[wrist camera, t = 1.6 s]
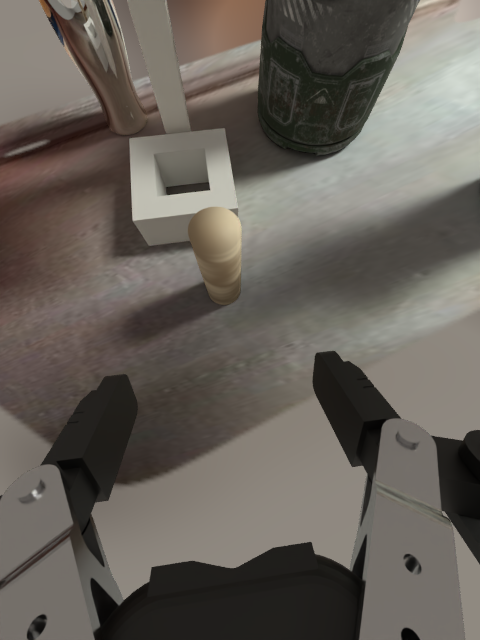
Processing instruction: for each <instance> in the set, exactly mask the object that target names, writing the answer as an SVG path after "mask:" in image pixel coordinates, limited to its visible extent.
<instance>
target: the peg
mask: <svg viewBox="0 0 480 640" xmlns="http://www.w3.org/2000/svg"><path fill="white" fill-rule="evenodd" d="M241 231H242V228H241V223H240V221H239V219H238V217H237V216H236V215H235V214H234V213H233V212H232V211H230V210H228V209H226V208H223V207H208V208H204V209H202V210H200V211H199V212H197V213H196V214H195V215H194V216H193V217H192V219H191V220H190V222H189V225H188V236H189V239H190V242H191V245H192V248H193V251H194V254H195V256H196V259H197V262H198V265H199V268H200V271H201V274H202V277H203V280H204V283H205V286H206V288H207V291H208V294H209V297H210V298H211V300H212V301H214V302H215V303H217V304H220V305H228V304H231V303H233V302H234V301H236V300H237V298H238V297H239V295H240V291H241Z"/></svg>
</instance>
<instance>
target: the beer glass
mask: <svg viewBox="0 0 480 640" xmlns="http://www.w3.org/2000/svg"><path fill="white" fill-rule="evenodd" d="M39 2H40V4H41V6H42V8H43V10H44V12H45V14H46V16H47V18H48V20H49V22H50V24H51V26H52V28H53V29H54V31H55V33H56V35H57V36H58V38H59V40H60V42H61V43H62V45H63V47H64V48H65V50H66V52H67V53H68V55H69V56H70V58H71V59H72V61H73V62H74V64H75V65H76V67H77V68H78V70H79V71H80V73H81V74H82V76H83V77H84V79H85V80H86V82H87V83H88V85H89V86H90V88H91V89H92V91H93V92H94V94H95V96H96V98H97V100H98V102H99V104H100V107H101V109H102V112H103V115H104V118H105V121H106V124H107V126H108V128H109V129H110V130H111V131H112V132H114V133H116V134H119V135H131V134H135V133H137V132H139V131H140V130H141V129H143V128H144V126H145V125H146V123H147V113H146V110H145V108H144V106H143V104H142V103H141V101H140V99H139V97H138V95H137V92H136V90H135V87H134V84H133V80H132V76H131V72H130V67H129V62H128V57H127V52H126V47H125V43H124V38H123V34H122V30H121V26H120V23H119V20H118V16H117V13H116V10H115V6H114V4H113V1H112V0H39Z"/></svg>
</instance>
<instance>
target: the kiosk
mask: <svg viewBox="0 0 480 640" xmlns="http://www.w3.org/2000/svg"><path fill="white" fill-rule="evenodd" d="M127 2H128V6H129V9H130V13H131V16H132V20H133V23H134V26H135V30H136V33H137V37H138V40H139V44H140V47H141V50H142V54H143V57H144V61H145V64H146V67H147V71H148V74H149V78H150V81H151V85H152V88H153V91H154V95H155V98H156V102H157V105H158V108H159V112H160V115H161V119H162V122H163V125H164V129H165V132H166V134H165V135H155V136H146V137H137V138H129V144H130V169H131V194H132V219H133V222H134V224H135V225H136V227H137V228H138V230H139V231H140V233H141V234H142V236H143V237H144V239H145V241H146V242H147V244H148V245H149V246H153V245H161V244H169V243H177V242H185V241H190V239H189V236H188V225H189V222H190V220H191V219H192V217H193V216H194V215H195V214H196V213H197V212H199V211H200V210H202V209H204V208H208V207H223V208H226V209H228V210H230V211H232V212H233V213H234V214H235V215H236V216H237V217H238V205H237V199H236V193H235V187H234V181H233V175H232V169H231V163H230V157H229V151H228V145H227V139H226V133H225V128H220V129H211V130H201V131H192V132H191V127H190V121H189V116H188V111H187V106H186V100H185V95H184V90H183V85H182V79H181V74H180V69H179V64H178V59H177V53H176V48H175V43H174V37H173V32H172V27H171V21H170V16H169V11H168V6H167V0H127ZM205 182H209V184H210V190H208V191H199V192H191V193H183V194H174V195H167V193H166V187H171V186H179V185H188V184H196V183H205Z"/></svg>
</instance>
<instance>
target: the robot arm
mask: <svg viewBox="0 0 480 640" xmlns="http://www.w3.org/2000/svg"><path fill="white" fill-rule="evenodd" d="M313 388H314V391H315V394H316V396H317V398H318V400H319V402H320V404H321V406H322V408H323V410H324V412H325V414H326V416H327V418H328V420H329V422H330V424H331V426H332V428H333V430H334V432H335V434H336V436H337V438H338V440H339V442H340V444H341V446H342V448H343V450H344V452H345V454H346V456H347V458H348V460H349V462H350V464H351V466H352V467H356V466H364V468H365V470H366V472H367V477H366V481H365V487H364V494H363V500H362V506H361V513H360V519H359V525H358V531H357V536H356V540H355V545H354V549H353V554H352V559H351V565H350V570H349V569H347V568H346V567H344V566H343V565H341V564H339V563H337V562H335V561H334V560H332V559H329V558H326V557H324V556H320V555H316V554H315V553H314V550H313V546H312V543H311V542H307V543H301V544H295V545H288V546H283V547H276V548H272V549H270V550H268V551H267V552H265V553H263V554H261V555H259V556H257V557H255V558H254V559H252V560H250V561H248V562H246V563H244V564H243V565H241V566H239V567H237V568H225V567H220V566H215V565H210V564H206V563H200V562H195V561H188V562H181V563H175V564H170V565H163V566H156V567H152V569H151V576H150V581H149V582H148V583H146V584H144V585H143V586H142V587H140V588H139V589H137V590H136V591H135V592H133V593H132V594H131V595H130V596H129V597H127V598H126V599H125V600H123V597H122V594H121V592H120V590H119V587H118V585H117V583H116V581H115V580H114V578H113V576H112V573H111V571H110V568H109V565H108V562H107V560H106V556H105V554H104V550H103V547H102V544H101V541H100V538H99V535H98V532H97V529H96V526H95V523H94V520H93V517H92V515H91V512H92V509H93V507H94V504H95V502H101V501H108V500H109V497H110V494H111V491H112V488H113V485H114V482H115V479H116V476H117V473H118V470H119V467H120V464H121V461H122V458H123V455H124V452H125V449H126V446H127V443H128V440H129V437H130V434H131V431H132V428H133V425H134V422H135V419H136V416H137V410H138V406H137V400H136V397H135V395H134V392H133V389H132V387H131V384H130V381H129V378H128V376H127V375H126V374H122V375H113V376H106V377H104V378H103V380H102V382H101V383H100V385H99V387H98V389H97V390H93V391H91V392H90V393H89V394H88V395H87V396H86V397H84V398H83V399H82V400H81V401H80V403H79V404H78V406H77V408H76V409H75V411H74V412H73V415H72V416H71V417H70V419H69V420H68V422H67V425H65V427H64V429H63V430H62V432H61V433H60V435H59V437H58V438H57V440H56V441H55V443H54V445H53V446H52V448H51V449H50V451H49V453H48V454H47V456H46V458H45V459H44V461H43V462H42V464H41V465H40V466H38V467H36V468H33V469H31V470H29V471H28V472H26V473H25V474H23V475H22V476H20V477H19V478H18V479H17V480H15V481H14V482H13V483H12V484H11V485H10V486H9V488H8V489H7V490H6V492H5V493H4V494H3V495H1V496H0V640H465V632H464V623H463V614H462V605H461V595H460V587H459V578H458V568H457V559H456V549H455V540H454V532H453V527H452V524H451V522H452V523H453V525H454V526H455V528H456V529H457V531H458V532H459V534H460V535H461V537H462V538H463V540H464V541H465V543H466V544H467V546H468V547H469V549H470V550H471V552H472V553H473V555H474V556H475V558H476V559H477V561H478V562H479V564H480V430H474V431H470V432H469V433H467V434H466V436H465V438H464V440H463V441H461V440H455V439H448V438H442V437H435V436H431V435H430V434H429V433H428V432H426V430H424V429H423V428H421V427H420V426H419V425H417V424H415V423H413V422H411V421H408V420H404V419H401V418H400V417H399V415H398V414H397V413H396V412H395V410H394V409H393V408H392V407H391V406H390V404H389V403H388V402H387V401H386V400H385V398H384V397H383V396H382V395H381V394H380V392H379V391H378V390H377V389H376V388H374V385H373V384H372V383H371V381H370V380H368V378H367V376H366V375H365V374H364V373H363V372H362V370H361V369H360V368H358V367H357V366H355V365H354V364H352V363H351V362H349V361H346V362H343V360H342V359H341V358H340V356H339V355H338V354H337V353H336V352H335V351H328V352H319V353H316V355H315V362H314V372H313ZM442 511H445V513H446V514H447V516H448V517H449V519H450V520H451V522H450V520H449V519H448V518H447V517H445V516H443V514H442Z"/></svg>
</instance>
